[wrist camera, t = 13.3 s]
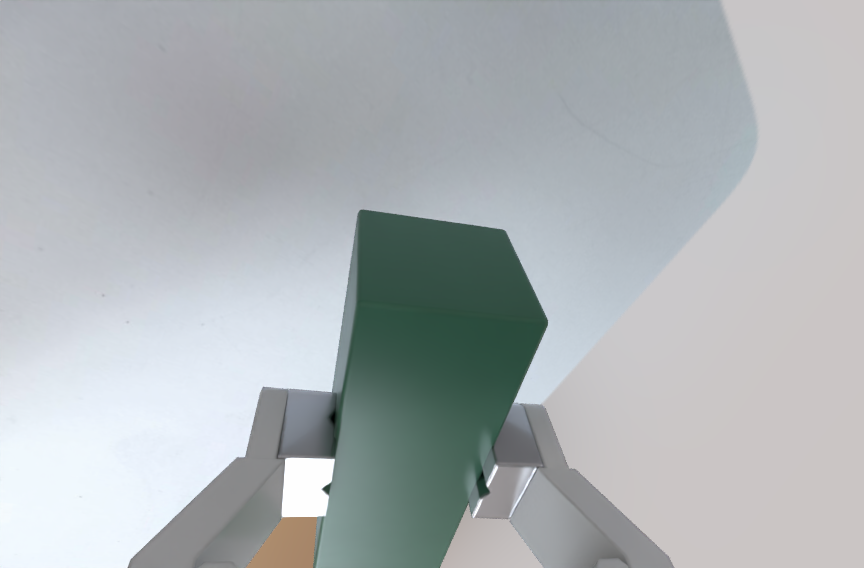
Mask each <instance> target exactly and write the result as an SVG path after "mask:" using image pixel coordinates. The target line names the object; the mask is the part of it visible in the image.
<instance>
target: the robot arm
mask: <svg viewBox="0 0 864 568" xmlns="http://www.w3.org/2000/svg"><path fill="white" fill-rule="evenodd" d="M336 401H337V393H333V392H321V391H310V390H298V389H283V388H271V387H263V388H262V390H261V392H260V395H259V400H258V404H257V408H256V413H255V417H254V421H253V426H252V430H251V434H250V439H249V443H248V447H247V451H246V456H245V457H237V458H236V459H235V460H234V461H233V462H232V463H231V464H230V465H229V466H228V467H226V468H225V469H224V470H223V471H222V472H221V473H220V474H219V475H218V476H217V477H216V478H215V479H214V480H213V481H212V482H211V483H210V484H209V485H208V486H207V487H206V488H205V489H204V490H203V491H201V492H200V493H199V494H198V495H197V496H196V497H195V498H194V499H193V500H192V501H191V502H190V503H189V504H188V505H187V506H186V507H185V508H184V509H183V510H182V511H181V512H180V513H179V514H178V515H176V516H175V517H174V518H173V519H172V520H171V521H170V522H169V523H168V524H167V525H166V526H165V527H164V528H163V529H162V530H161V531H160V532H159V533H158V534H157V535H156V536H155V537H154V538H153V539H152V540H150V541H149V542H148V543H147V544H146V545H145V546H144V547H143V548H142V549H141V550H140V551H139V552H138V553H137V554H136V555H135V556H134V557H133V558H132V559H131V560H130V563H129V565H128V568H246V567H247V565H248V564H249V563H250V561H251V560H252V558H253V557H254V556H255V554H256V553H257V551H258V550H259V549H260V548H261V546H262V545H263V544H264V542H265V541H266V539H267V538H268V537H269V535H270V534H271V533H272V531H273V530H274V529H275V527H276V526H277V524H278V523H279V522H280V520H281V517H300V516H326V510H327V505H328V499H329V489H330V482H331V481H332V474H333V468H334V461H335V449H336V439H335V437H334V433H335V425H334V420H335V413H336ZM482 469H483V472H482V474H481V476H480V478H479V479H478V480H477V481H476V483H475V485H474V488H473V490H472V492H471V495H470V497H469V499H468V501H469V506H470V511H471V516H472V518H493V519H510V523H511V524H512V525H513V527H514V528H515V530H516V531H517V532H518V534H519V535H520V536H521V537H522V539H523V540H524V542H525V543H526V544H527V546H528V547H529V548H530V550H531V551H532V553H533V554H534V555H535V556H536V558H537V559H538V561H539V562H540V563H541V565H542V566H543V567H544V568H674V566H673V564H672V562H671V560H670V558H669V556H667V555H666V554H665V553H664V552H663V551H662V550H661V549H660V548H659V547H658V546H657V545H656V544H655V543H654V542H653V541H652V540H651V539H649V538H648V537H647V536H646V535H645V534H644V533H643V532H642V531H641V530H640V529H639V528H637V526H635V524H633V523H632V522H631V521H630V520H629V519H628V518H627V517H626V516H625V515H624V514H623V513H622V512H621V511H619V510H618V509H617V508H616V507H615V506H614V505H613V504H612V503H611V502H610V501H609V500H608V499H607V498H606V497H605V496H604V495H603V494H601V493H600V492H599V491H598V490H597V489H596V488H595V487H594V486H593V485H592V484H591V483H590V482H589V481H588V480H586V478H584V477H583V476H582V475H581V474H580V473H579V472H578V471H577V470H576V469H569V468H568V465H567V462H566V460H565V457H564V454H563V452H562V449H561V447H560V445H559V442H558V439H557V436H556V434H555V431H554V429H553V426H552V424H551V421H550V419H549V416H548V413H547V411H546V408H545V407H544V406H543V405H537V404H518V403H513V404H512V407H511V409H510V411H509V413H508V416H507V418H506V420H505V422H504V425H503V427H502V429H501V431H500V434H499V436H498V438H497V440H496V443H495V445H494V446H492V447H491V449H490V451H489V454H488V456H487V458H486V460H485V463H484V465H483V467H482Z"/></svg>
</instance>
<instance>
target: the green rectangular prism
mask: <svg viewBox="0 0 864 568" xmlns="http://www.w3.org/2000/svg"><path fill="white" fill-rule="evenodd" d="M547 326H548V320H547V317H546V315H545V313H544V311H543V309H542V307H541V305H540V303H539V301H538V298H537V296H536V294H535V292H534V290H533V288H532V286H531V284H530V282H529V279H528V277H527V275H526V273H525V271H524V269H523V267H522V265H521V263H520V260H519V258H518V256H517V254H516V252H515V250H514V248H513V246H512V244H511V242H510V239H509V237H508V235H507V233H506V231H504V230H502V229H495V228H488V227H481V226H474V225H467V224H460V223H453V222H446V221H439V220H432V219H425V218H418V217H411V216H404V215H397V214H390V213H383V212H376V211H369V210H360V211H359V212H358V216H357V223H356V230H355V237H354V244H353V251H352V257H351V264H350V271H349V278H348V285H347V292H346V299H345V306H344V313H343V320H342V327H341V333H340V340H339V347H338V354H337V361H336V368H335V375H334V382H333V389H332V392H333V393H337V401H336V413H335V420H334V425H335V433H334V437H335V439H336V449H335V461H334V468H333V474H332V481H331V482H330V489H329V499H328V505H327V510H326V516H317V526H316V539H315V552H314V563H313V568H440V566H441V563H442V562H443V559H444V557H445V555H446V553H447V550H448V548H449V546H450V543H451V541H452V539H453V537H454V535H455V532H456V530H457V528H458V526H459V523H460V521H461V518H462V517H463V514H464V512H465V510H466V507H467V505H468V503H469V501H468V499H469V497H470V495H471V492H472V490H473V488H474V485H475V483H476V481H477V480H478V479H479V478H480V476H481V474H482V472H483V469H482V467H483V465H484V463H485V460H486V458H487V456H488V454H489V451H490V449H491V447H492V446H494V445H495V443H496V440H497V438H498V436H499V434H500V431H501V429H502V427H503V425H504V422H505V420H506V418H507V416H508V413H509V411H510V409H511V407H512V404H513V402H514V400H515V398H516V395H517V393H518V391H519V389H520V386H521V384H522V382H523V380H524V377H525V375H526V373H527V371H528V368H529V366H530V364H531V362H532V359H533V357H534V355H535V353H536V351H537V348H538V346H539V344H540V342H541V339H542V337H543V335H544V333H545V330H546V328H547Z"/></svg>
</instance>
